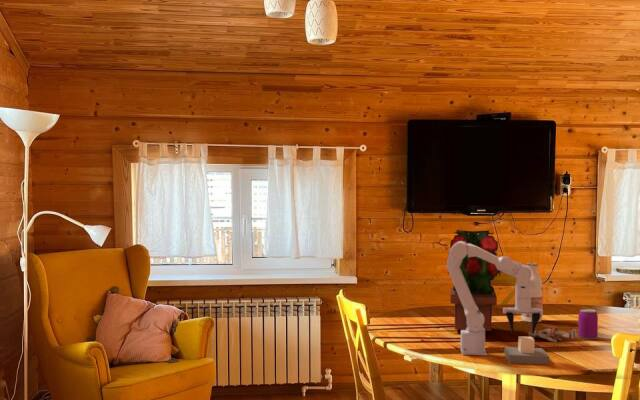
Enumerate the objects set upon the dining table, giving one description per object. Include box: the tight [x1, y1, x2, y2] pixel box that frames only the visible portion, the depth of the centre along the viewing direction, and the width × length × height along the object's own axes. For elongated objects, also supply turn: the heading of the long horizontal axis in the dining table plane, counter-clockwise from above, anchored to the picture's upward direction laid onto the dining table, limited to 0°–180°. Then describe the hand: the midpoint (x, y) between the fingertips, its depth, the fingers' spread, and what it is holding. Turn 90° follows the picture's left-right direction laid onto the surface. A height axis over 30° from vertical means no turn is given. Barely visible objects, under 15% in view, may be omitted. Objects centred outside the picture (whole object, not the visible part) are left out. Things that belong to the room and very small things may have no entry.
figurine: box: [527, 327, 578, 343], centre depth 271 cm, size 6×6×20 cm
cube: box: [517, 336, 535, 353], centre depth 242 cm, size 5×5×5 cm
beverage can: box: [577, 308, 599, 341], centre depth 276 cm, size 8×8×12 cm
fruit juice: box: [521, 262, 543, 323], centre depth 311 cm, size 9×9×28 cm
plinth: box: [504, 346, 550, 366], centre depth 242 cm, size 14×12×3 cm
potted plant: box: [447, 229, 501, 335], centre depth 289 cm, size 22×22×45 cm
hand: (522, 332), depth 245 cm, fingers open, 7 cm apart
